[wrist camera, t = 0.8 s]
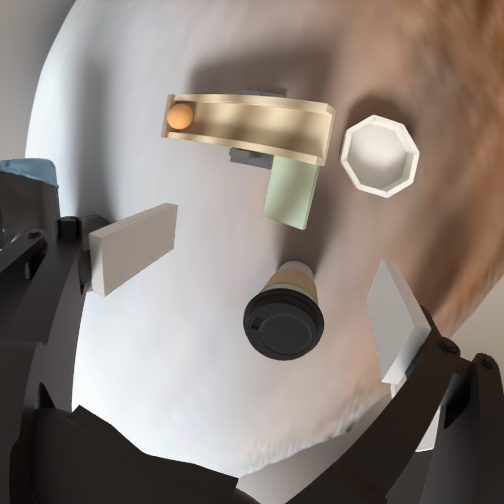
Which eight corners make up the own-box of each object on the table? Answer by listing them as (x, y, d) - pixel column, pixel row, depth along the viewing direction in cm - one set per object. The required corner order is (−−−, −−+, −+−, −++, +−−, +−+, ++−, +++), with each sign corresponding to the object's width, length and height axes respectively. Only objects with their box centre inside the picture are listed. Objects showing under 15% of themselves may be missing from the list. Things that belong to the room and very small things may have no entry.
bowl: (334, 180, 38) (335, 182, 34) (348, 112, 34) (351, 108, 30) (399, 199, 36) (407, 204, 32) (414, 133, 32) (423, 131, 29)
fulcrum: (182, 153, 42) (157, 154, 35) (194, 86, 37) (170, 76, 31) (271, 169, 39) (260, 172, 32) (285, 96, 35) (277, 83, 28)
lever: (172, 184, 40) (155, 186, 37) (185, 98, 35) (168, 94, 33) (309, 230, 30) (296, 235, 27) (335, 110, 25) (325, 102, 22)
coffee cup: (263, 250, 44) (234, 295, 30) (325, 249, 41) (324, 296, 27) (268, 304, 47) (244, 362, 33) (325, 304, 44) (321, 367, 30)
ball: (175, 129, 36) (159, 127, 33) (179, 105, 34) (164, 101, 31) (195, 131, 35) (181, 129, 32) (200, 106, 34) (185, 102, 30)
